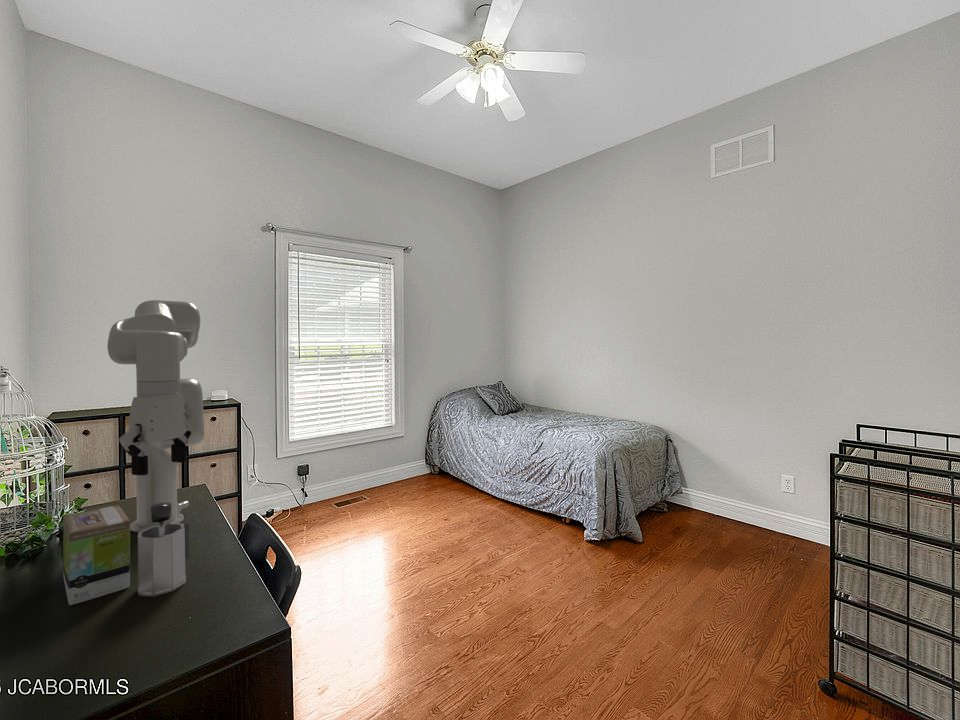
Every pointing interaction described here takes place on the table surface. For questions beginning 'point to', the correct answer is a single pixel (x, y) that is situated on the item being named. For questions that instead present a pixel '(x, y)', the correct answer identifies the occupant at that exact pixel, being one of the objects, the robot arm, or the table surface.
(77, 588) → the tea box
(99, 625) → the table surface
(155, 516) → the plunger
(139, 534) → the carafe
